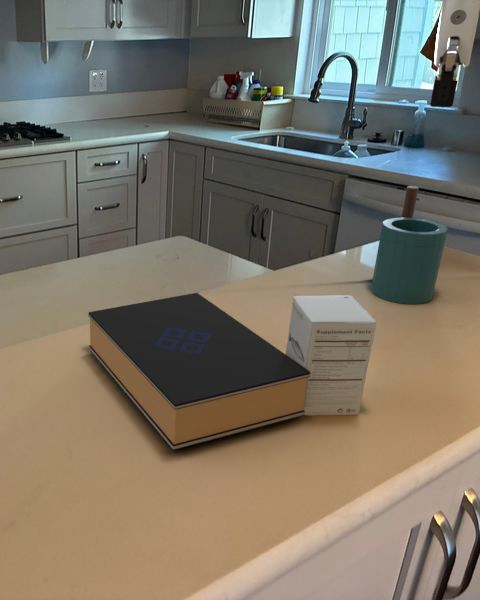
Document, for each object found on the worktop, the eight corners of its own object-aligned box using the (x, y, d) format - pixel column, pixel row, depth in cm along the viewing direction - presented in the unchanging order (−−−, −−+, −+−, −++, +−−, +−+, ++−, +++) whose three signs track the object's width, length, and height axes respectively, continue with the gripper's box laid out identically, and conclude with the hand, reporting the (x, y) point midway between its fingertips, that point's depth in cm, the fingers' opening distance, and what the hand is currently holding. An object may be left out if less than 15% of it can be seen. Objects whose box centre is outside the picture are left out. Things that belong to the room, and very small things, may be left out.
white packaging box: (280, 383, 80) (291, 294, 74) (338, 383, 79) (353, 293, 74) (297, 417, 73) (310, 321, 68) (360, 416, 72) (379, 320, 67)
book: (195, 332, 93) (197, 292, 91) (304, 421, 72) (311, 371, 69) (88, 353, 88) (88, 311, 85) (172, 456, 67) (175, 404, 64)
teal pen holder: (410, 281, 110) (423, 216, 105) (444, 302, 101) (461, 232, 96) (360, 284, 109) (371, 219, 104) (390, 306, 100) (404, 236, 96)
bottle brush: (399, 268, 116) (416, 184, 109) (411, 275, 112) (429, 189, 106) (381, 269, 115) (397, 185, 109) (392, 276, 112) (409, 190, 106)
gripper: (494, -14, 88) (468, 110, 95) (488, -10, 102) (465, 98, 109) (435, -11, 92) (414, 109, 99) (436, -7, 105) (417, 97, 112)
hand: (441, 103), depth 104 cm, fingers open, 9 cm apart
